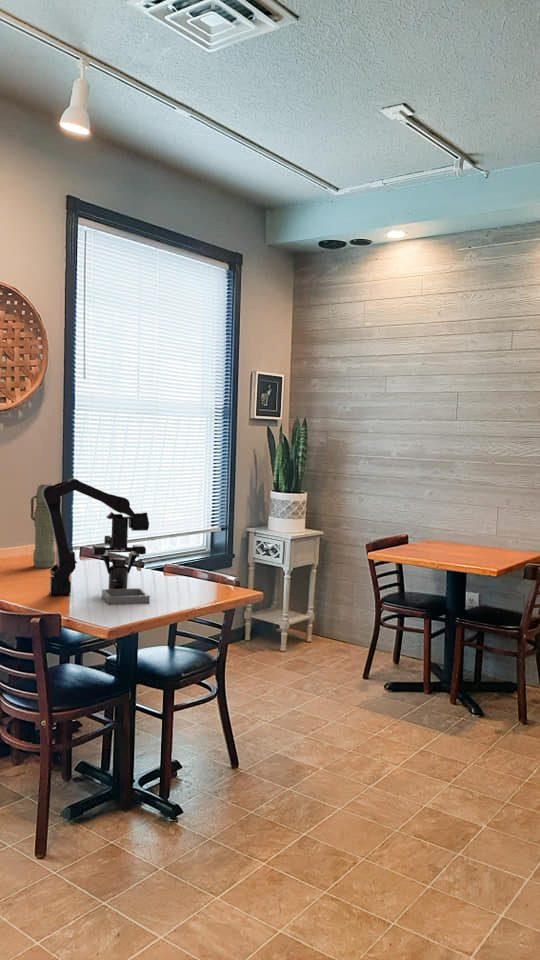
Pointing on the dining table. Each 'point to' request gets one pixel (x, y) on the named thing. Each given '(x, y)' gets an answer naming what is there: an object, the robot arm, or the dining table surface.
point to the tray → (125, 596)
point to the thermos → (42, 533)
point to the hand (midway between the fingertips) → (118, 573)
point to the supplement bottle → (118, 574)
